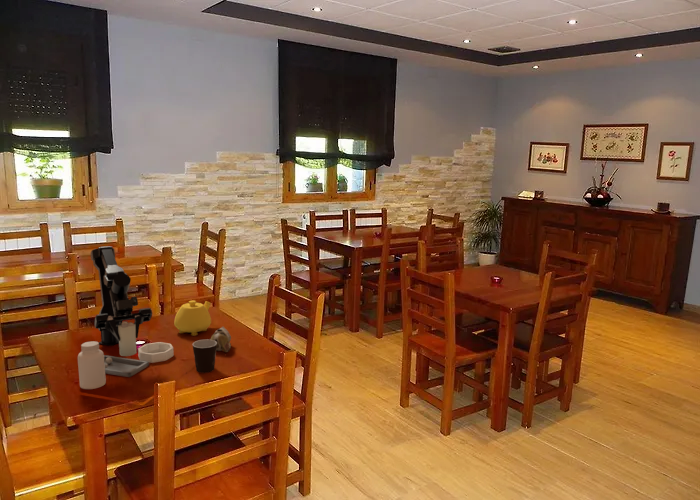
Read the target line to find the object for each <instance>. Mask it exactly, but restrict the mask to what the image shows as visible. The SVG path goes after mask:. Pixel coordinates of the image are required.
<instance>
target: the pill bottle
mask: <svg viewBox="0 0 700 500" xmlns="http://www.w3.org/2000/svg"><path fill="white" fill-rule="evenodd" d="M80 347H81V348H80V349H81V351H80V352H79V353H78V355H77V366H78V367H77V368H78V369H77V370H78V379H79V380H78V381H79V387H80V388H81V389H83V390H93V389H98V388H101V387H103V386H104V385H106V382H107V377H106V373H105V363H104V355H105V354H104V351H103V350H101V349H100V344H99V342H98V341H96V340H95V341H94V340H93V341H86V342H83V343H82V344H80Z"/></svg>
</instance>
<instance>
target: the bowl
mask: <svg viewBox="0 0 700 500" xmlns="http://www.w3.org/2000/svg"><path fill="white" fill-rule="evenodd" d="M137 353H138V354H137V355H138V360H141V361H148V362H149V364H151V363H152V364H154V363H159V362H165V361H168V360H170V359H171V358H172V357H174V353H175V352H174V346H173V345H172V344H171V343H168V342H163V341H157V342H152V343H151V342H150V343H145V344H144V345H142V346H140V347H138V348H137Z"/></svg>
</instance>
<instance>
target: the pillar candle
mask: <svg viewBox="0 0 700 500" xmlns="http://www.w3.org/2000/svg"><path fill="white" fill-rule="evenodd" d="M118 333H119V337H120V341H119V342H118V348H119V349H118V350H119V356H121V357H131V356H134V355H136V354H137V338H136V329H135V324H134V322H131V321H130V322H128V320H123V321H122V324H120V325H119V326H118Z"/></svg>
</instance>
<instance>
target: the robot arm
mask: <svg viewBox="0 0 700 500" xmlns="http://www.w3.org/2000/svg"><path fill="white" fill-rule="evenodd" d="M90 260H91V261H92V264H93V266H94V267H95V269H96V270H97V271H98V278H99V286H100V293H101V294H100V295H101V296H100V297H101V303H102V306H101V308H100V310H99V314H96V315H95V317H94V327H95V329H98V331H99V332H100V341H99V342H98V343H99V345H105V346H114V345H116V344H119V341H120V337H119V333H118V326H119V325H120V324H122V322H124V321H129V320H134V322H133V323H134V324H135V329H136V339H138V336H139V331H140V330H139V329H140V326H141V325H142V324H143V323H145V322H150V321H151V318H152V316H153V312H152V308H150V307H147V308H139V311H138V312H135V313H133V312H134V311H133V309H134V307H137V306H138V305H139V300H138V297H137V296H131V297H130V298H129V296H128V292H129V289H130V285H131V281H132V279H131V277H130V276H129V275H128V274H127V273H126V272H125V271H124V269H123V268H122V267H121V266H119V265H118V263H117V260H116V252H115V248H113V246H110V245H107V246H106V245H105V246H100V247H97V248H94V249H92V250H91V251H90Z"/></svg>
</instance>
